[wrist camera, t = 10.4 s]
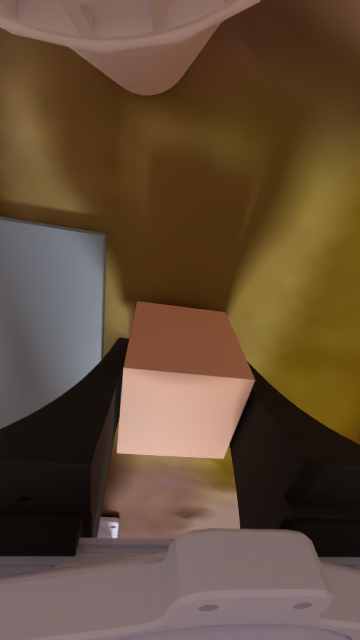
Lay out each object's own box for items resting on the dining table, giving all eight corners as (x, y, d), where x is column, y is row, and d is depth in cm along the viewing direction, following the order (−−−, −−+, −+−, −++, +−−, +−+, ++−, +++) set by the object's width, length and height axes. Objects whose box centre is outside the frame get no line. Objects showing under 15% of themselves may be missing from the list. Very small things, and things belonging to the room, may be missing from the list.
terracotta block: (206, 378, 15) (223, 458, 11) (130, 371, 15) (116, 453, 11) (225, 312, 13) (255, 380, 9) (137, 301, 13) (123, 367, 8)
